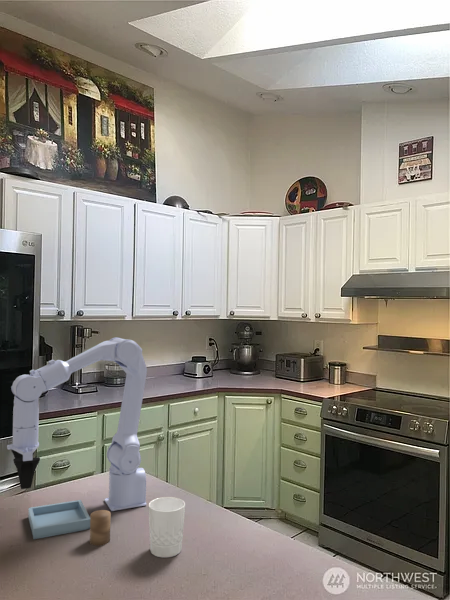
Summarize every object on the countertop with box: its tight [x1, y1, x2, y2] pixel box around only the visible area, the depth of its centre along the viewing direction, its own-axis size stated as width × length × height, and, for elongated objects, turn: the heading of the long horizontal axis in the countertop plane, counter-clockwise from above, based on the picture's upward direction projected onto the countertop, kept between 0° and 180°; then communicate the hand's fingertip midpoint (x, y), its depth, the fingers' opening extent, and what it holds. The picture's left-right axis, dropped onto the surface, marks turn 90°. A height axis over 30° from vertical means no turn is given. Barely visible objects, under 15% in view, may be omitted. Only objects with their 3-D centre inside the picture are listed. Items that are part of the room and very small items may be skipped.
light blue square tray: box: [27, 499, 90, 540], centre depth 118 cm, size 13×13×2 cm
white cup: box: [148, 496, 186, 559], centre depth 106 cm, size 8×8×10 cm
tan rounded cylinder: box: [89, 509, 112, 547], centre depth 109 cm, size 4×4×6 cm
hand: (24, 482), depth 117 cm, fingers open, 7 cm apart
